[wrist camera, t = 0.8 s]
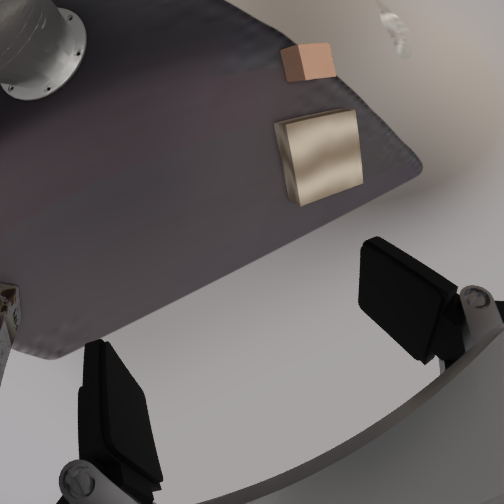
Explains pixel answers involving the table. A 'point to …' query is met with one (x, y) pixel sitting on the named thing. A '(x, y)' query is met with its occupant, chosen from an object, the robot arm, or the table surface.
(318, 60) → the terracotta cube
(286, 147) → the birch block
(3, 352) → the coffee box
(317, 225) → the table surface
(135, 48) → the table surface
